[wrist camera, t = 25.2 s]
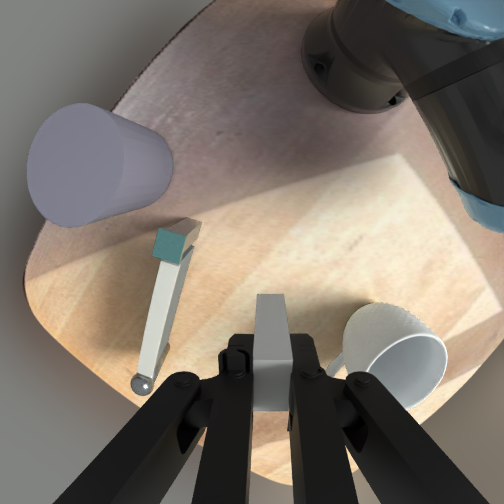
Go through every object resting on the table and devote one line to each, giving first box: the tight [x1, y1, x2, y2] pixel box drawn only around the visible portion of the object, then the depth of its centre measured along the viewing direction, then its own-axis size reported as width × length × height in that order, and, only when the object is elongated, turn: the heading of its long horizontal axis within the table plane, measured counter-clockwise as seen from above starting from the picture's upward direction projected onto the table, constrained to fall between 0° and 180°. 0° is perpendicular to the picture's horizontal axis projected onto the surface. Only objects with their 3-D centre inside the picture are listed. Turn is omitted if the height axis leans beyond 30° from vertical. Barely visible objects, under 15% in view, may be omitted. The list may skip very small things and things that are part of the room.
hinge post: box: [131, 342, 170, 396], centre depth 36 cm, size 3×3×11 cm
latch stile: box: [152, 218, 202, 265], centre depth 32 cm, size 3×3×11 cm
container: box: [27, 103, 173, 228], centre depth 28 cm, size 10×10×15 cm
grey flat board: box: [137, 245, 194, 378], centre depth 34 cm, size 14×2×9 cm, turn 161°
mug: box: [325, 302, 447, 411], centre depth 34 cm, size 15×11×13 cm
